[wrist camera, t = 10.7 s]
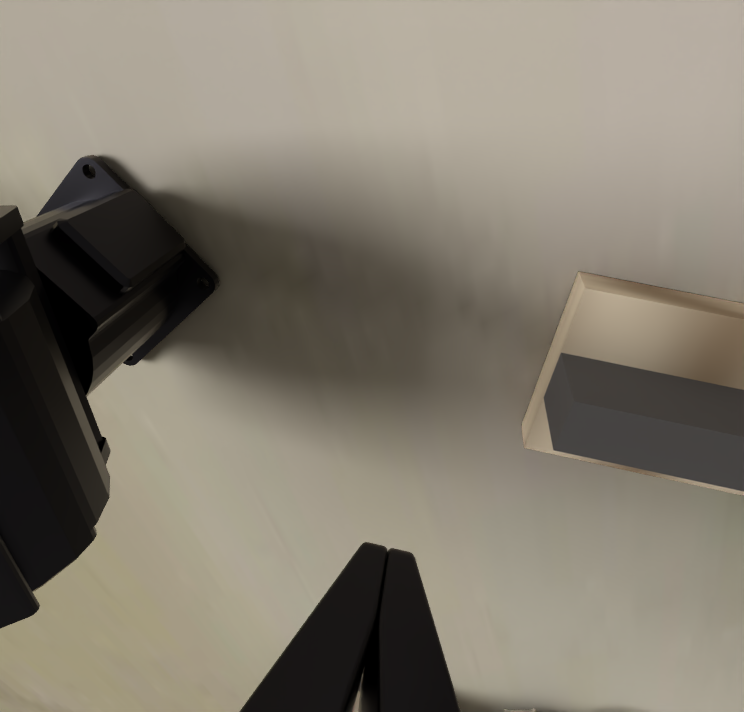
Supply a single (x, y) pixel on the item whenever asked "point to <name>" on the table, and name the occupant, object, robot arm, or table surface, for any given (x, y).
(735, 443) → the rail
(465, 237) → the table surface
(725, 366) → the track board
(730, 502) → the table surface
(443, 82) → the table surface
